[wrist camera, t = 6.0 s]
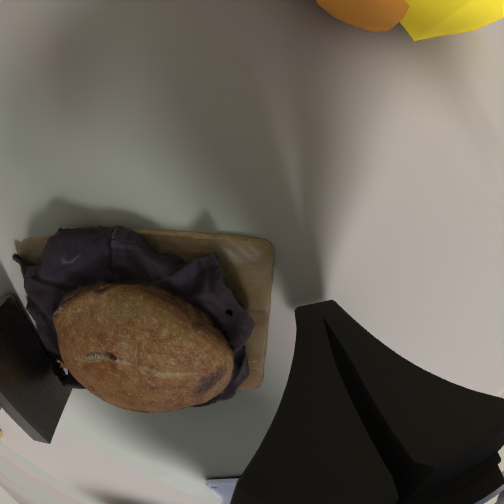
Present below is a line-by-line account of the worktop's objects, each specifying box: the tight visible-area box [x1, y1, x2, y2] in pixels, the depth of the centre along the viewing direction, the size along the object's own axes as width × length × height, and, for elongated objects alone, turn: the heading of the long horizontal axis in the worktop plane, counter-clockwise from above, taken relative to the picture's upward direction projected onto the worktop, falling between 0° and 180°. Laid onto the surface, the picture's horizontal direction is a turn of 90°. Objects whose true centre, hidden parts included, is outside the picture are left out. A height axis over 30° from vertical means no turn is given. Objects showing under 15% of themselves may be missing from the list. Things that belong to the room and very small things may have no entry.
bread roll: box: [12, 226, 275, 413], centre depth 10 cm, size 11×8×4 cm
